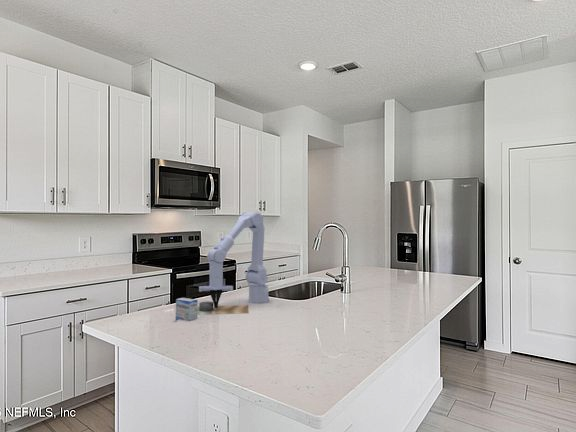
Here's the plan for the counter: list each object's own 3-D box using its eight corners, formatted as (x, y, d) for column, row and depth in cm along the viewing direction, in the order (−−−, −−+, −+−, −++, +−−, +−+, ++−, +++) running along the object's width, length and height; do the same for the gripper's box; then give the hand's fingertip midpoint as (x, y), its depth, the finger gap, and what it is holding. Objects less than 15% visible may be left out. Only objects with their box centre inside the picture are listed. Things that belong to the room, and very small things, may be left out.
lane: (248, 307, 174) (248, 305, 174) (248, 315, 160) (248, 313, 160) (186, 308, 171) (186, 306, 171) (180, 317, 157) (180, 314, 157)
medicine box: (175, 320, 152) (175, 299, 152) (183, 318, 156) (183, 297, 156) (190, 323, 148) (190, 301, 148) (197, 320, 152) (197, 299, 152)
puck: (214, 308, 168) (214, 301, 168) (212, 311, 162) (212, 304, 162) (200, 308, 168) (200, 301, 168) (198, 311, 162) (198, 304, 162)
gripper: (198, 278, 160) (198, 310, 160) (232, 277, 162) (232, 309, 162) (200, 275, 167) (199, 306, 167) (233, 275, 169) (232, 305, 169)
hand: (216, 307), depth 165 cm, fingers closed
